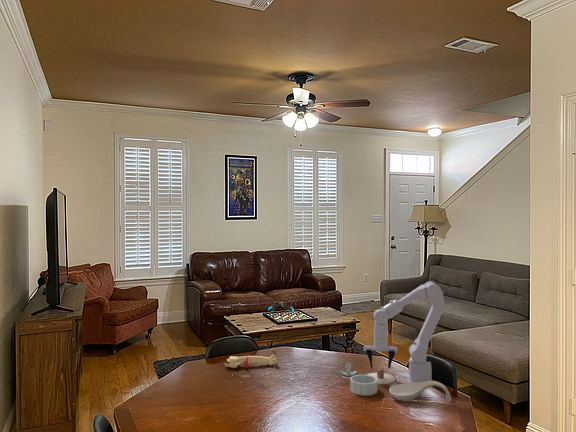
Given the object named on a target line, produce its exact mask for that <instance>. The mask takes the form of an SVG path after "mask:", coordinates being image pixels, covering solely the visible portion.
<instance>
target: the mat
mask: <svg viewBox="0 0 576 432" xmlns="http://www.w3.org/2000/svg"><path fill="white" fill-rule="evenodd" d="M370 373H371V372H363V375H367V374H370ZM389 374H390V375H393V376H394V377H395V379H396V380H395V382H393V383H391V384H377V386H394V385H399V382H398V380H397V376H396V374H395V373H389Z"/></svg>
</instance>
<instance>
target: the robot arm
mask: <svg viewBox="0 0 576 432" xmlns="http://www.w3.org/2000/svg"><path fill="white" fill-rule="evenodd" d="M427 297H428V299H429V302H430V304H431V307H430V309H429V311H428V313H427V316H426V318H425V320H424V323H423V325H422V327H421V330H420V331H419V334H418V336H417V338H415V339H414V341H413V343H412V344H411V345H410V346H409V347H408V352H409V354H410V357H409V359H408V376H407V377H406V379H407V380H408V384H410V383H418V382H424V381H433V380H432V377H433V376H432V370H433V369H432V363H431V361H427V359H428V357H427V352H428V350H429V343H430V341H431V339H432V336H433V335H434V332H435V330H436V327H437V325H438V324H439V321H440V318H441V316H442V314H443V312H444V310H445V306H446V304H445V298H444V292H443V290H442V288H441V287H440V286H439V285H437V284H436V283H435V282H433V281H430V280H429V281H426V282H425V283H423V284H420V285H419V286H418V287H416V288H415V289H413V290H411V291H410V292H409V293H407V294H406V295H404V296H403V297H401V298H400V299H393V300H392V299H391V300H389V303H387V304H385V305H384V306H380V308H378V309H375V311H374V312H373V315H372V316H373V318H374V324H373V325H374V326H373V345H372V344H371V345H363V352H366V355H367V357H368V360H369V361H368V362H369V363H370V368H372V369H373V352H387V353H388V360H387V363H388V364H387V367H388V369H390V370H391V365H392V362H393V361H394V357H395V356H396V353H398V347H397V346H391V345H388V320H390V319H392V318H393V317H395V316H396V315H398V314H400V313H401V312H402V311H403V309H404V307H405V306H407V305H409V304H411V303H412V302H415V301H416V300H417V299H420V298H421V299H427Z"/></svg>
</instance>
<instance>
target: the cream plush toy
mask: <svg viewBox="0 0 576 432" xmlns="http://www.w3.org/2000/svg"><path fill="white" fill-rule="evenodd" d="M271 353H272V355H270V357H268V356H263V355H248V354H247V353H245V355H244V356H243V355H242V356H237V355H236V356H233V355H231V356H229V358H227V359H225V362H224V366H225V367H227V368H232V369H237V368H238V366H240V365H243V366H244V367H245V369H248V366H249V364H260V365H266V366H273V365H274V367H278V360H277V358H275V357H276V356H277V355H278V354H277V351H276V350H275V349H271Z"/></svg>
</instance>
